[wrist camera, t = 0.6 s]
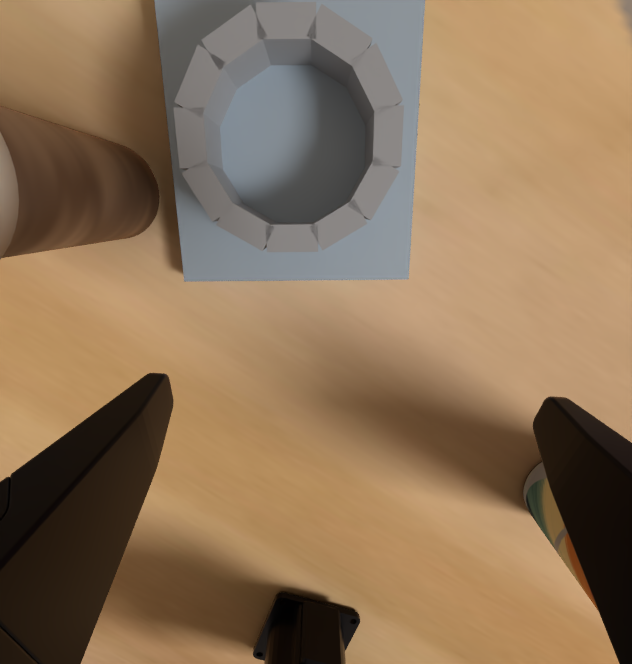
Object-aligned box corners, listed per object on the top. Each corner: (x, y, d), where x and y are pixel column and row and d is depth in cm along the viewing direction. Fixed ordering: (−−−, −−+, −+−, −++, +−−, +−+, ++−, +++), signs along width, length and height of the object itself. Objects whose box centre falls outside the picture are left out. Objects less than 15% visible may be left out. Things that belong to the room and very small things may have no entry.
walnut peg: (156, 264, 22) (-40, 335, 10) (48, 227, 22) (-305, 253, 9) (182, 155, 21) (-15, 75, 8) (66, 111, 20) (-334, -44, 8)
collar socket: (403, 275, 23) (422, 290, 19) (190, 277, 23) (164, 292, 19) (419, -2, 19) (447, -59, 15) (162, 1, 19) (121, -55, 15)
